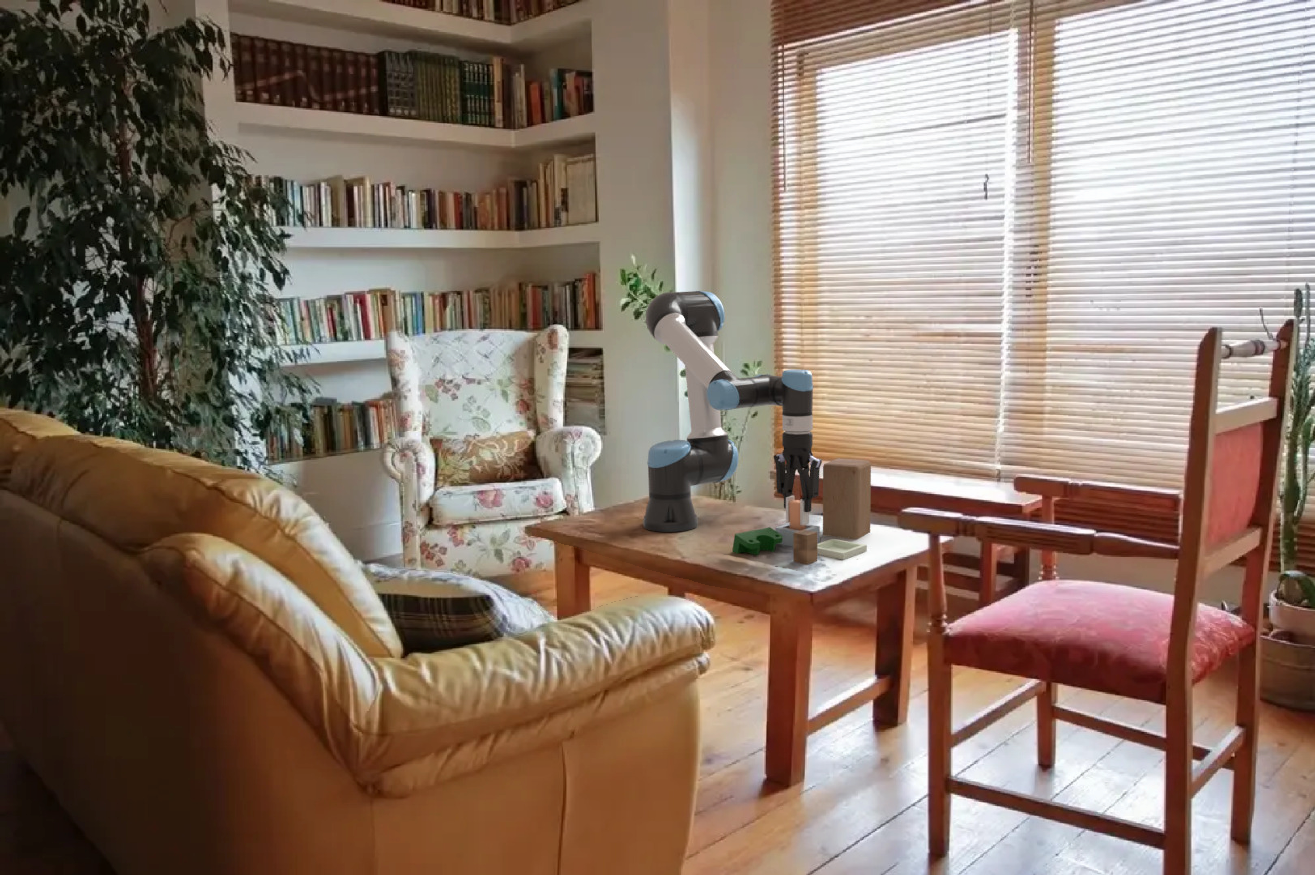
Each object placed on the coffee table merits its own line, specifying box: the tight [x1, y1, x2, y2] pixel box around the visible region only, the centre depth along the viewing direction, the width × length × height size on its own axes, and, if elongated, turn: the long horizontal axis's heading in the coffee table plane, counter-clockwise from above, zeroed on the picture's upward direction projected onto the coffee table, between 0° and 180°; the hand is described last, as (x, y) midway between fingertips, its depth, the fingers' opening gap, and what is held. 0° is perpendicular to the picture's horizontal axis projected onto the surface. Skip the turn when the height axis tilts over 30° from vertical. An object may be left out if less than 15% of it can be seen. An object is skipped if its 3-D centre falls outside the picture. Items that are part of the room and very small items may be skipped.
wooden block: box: [822, 457, 872, 540], centre depth 270 cm, size 10×10×20 cm
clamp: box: [732, 526, 783, 556], centre depth 255 cm, size 12×6×9 cm, turn 117°
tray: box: [817, 538, 868, 560], centre depth 253 cm, size 10×10×2 cm
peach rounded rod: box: [789, 499, 805, 531], centre depth 262 cm, size 4×4×10 cm
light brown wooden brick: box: [792, 530, 818, 565], centre depth 245 cm, size 4×4×8 cm
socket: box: [774, 522, 821, 547], centre depth 262 cm, size 8×8×5 cm
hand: (797, 522), depth 262 cm, fingers closed on peach rounded rod, 4 cm apart
